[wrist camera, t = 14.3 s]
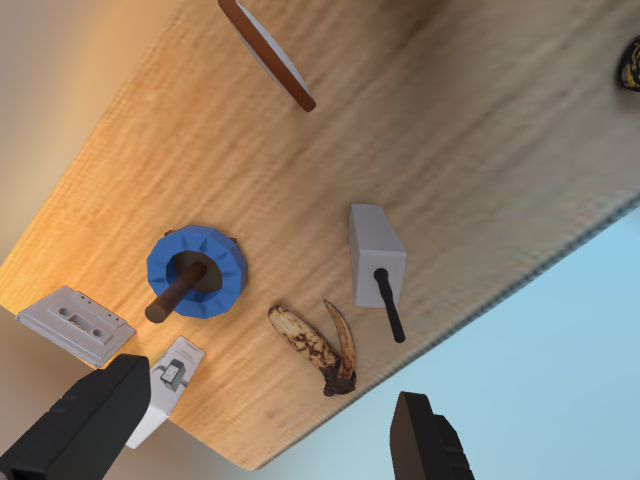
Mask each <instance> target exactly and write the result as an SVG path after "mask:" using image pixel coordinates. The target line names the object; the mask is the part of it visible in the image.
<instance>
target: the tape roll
mask: <svg viewBox="0 0 640 480" xmlns="http://www.w3.org/2000/svg"><path fill="white" fill-rule="evenodd" d="M185 250H190V251H197V252H202V253H204V254H205V255H207V256H208V257H210V258H211V259H212V260H214V261H215V262H216V264H217V265H218V267H219V269H220V271H221V273H222V275H223V276H222V288H221V289H219V290H217V291H214V292H211V293H202V292H195V291H193V290H191V291H190V292H189V293H188V295H187V296H186V297H185V298H184V299H183V300H182V301H181V302H180V304H179V305H178V306H177V307H176V308H175V309H174V311H176V312H177V313H179V314H180V315H183V316H190V317H196V318H203V319H207V318H210V317H213V316H216V315H219V314H222V313H225V312H227V311H228V310H229V309H230V307H231V306H232V305H233V303H234V302H235V301H236V300H237V298H238V297H239V296H240V294H241V293H242V291H243V289H244V287H245V283H246V268H247V264H246V262H245V260H244V258H243V257H242V255H241V253H240V251H239V249H238V247H237V245H236V243H234V242H233V241H232V240H230V239H229V238H227V237H226V236H225V235H223V234H222V233H220V232H219V231H218V230H216V229H214V228H207V227H200V226H193V225H189V226H187V227H184V228H182V229H179V230H177V231H174V232H172V233H169V234H168V235H166V236H165V237H163V238H161V239H160V240H159V241H158V242H157V244H156V246H155V247H154V249H153V250H152V252H151V253H150V255H149V257H148V258H147V270H148V282H149V284H150V285H151V287H152V289H153V290H154V292H155V293H156V295H157V296H159V295H160V294H161V293H162V292H163V291H164V290H165V289H167V288H168V287H169V286H170V285H171V284H172V283H173V282H174V281H175V280H176V279H177V278H178V277H179V276H178V275H177V273H176V265H175V258H176V257H177V255H178V254H179V253H180V252H183V251H185Z"/></svg>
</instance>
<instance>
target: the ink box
mask: <svg viewBox="0 0 640 480" xmlns="http://www.w3.org/2000/svg"><path fill="white" fill-rule="evenodd" d="M204 355H205V352H204V351H202V350H200V349H199V348H198V347H196V346H195V345H194V344H192V343H191V342H190V341H188V340H187V339H185V338H184V337H183V336H180V337H179V338H178V339H177V340H176V341H175V342H174V343H173V344H172V345H171V346H170V347H169V348H168V350H167V351H166V352H165V353H164V354H163V355H162V356H161V357H160V358H159V360H158V361H157V362H156V363H155V364H154V365H153V366H152V368H151V369H150V381H151V401H150V404H149V407H148V410H147V412H146V414H145V415H144V417H143V419H142V420H141V422H140V423H139V425H138V426H137V428H136V429H135V431H134V432H133V434H132V435H131V437H130V438H129V440H128V441H127V443H126V444H125V445H127V446H128V447H130V448H132V449H135V448H136V447H137V446H138V445H139V444H140V443H142V442H143V441H144V440H145V439H146V438H147V437H148V436H149V435H150V434H151V433H152V432H153V431H154V430H155V429H156V428H157V427H158V426H159V425H160V424H161V423H163V422H164V421H165V419H167V418H168V417H169V416H170V414H171V412H172V411H173V409H174V407H175V406H176V404H177V402H178V400H179V399H180V397H181V395H182V393H183V392H184V390H185V388H186V386H187V385H188V383H189V381H190V380H191V378H192V376H193V374H194V373H195V371H196V369H197V367H198V365H199V364H200V362H201V360H202V358H203V357H204Z"/></svg>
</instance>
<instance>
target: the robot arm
mask: <svg viewBox="0 0 640 480" xmlns="http://www.w3.org/2000/svg"><path fill="white" fill-rule="evenodd" d="M150 401H151V381H150V368H149V360H148V358H147V357H145V356H138V355H130V354H120V355H118V356H117V357H116V358H115V359H114V360H113V361H112V362H111V363H110V364H109V365H108V366H107V367H106V368H105V369H97V370H95V371H93V372H92V373H90V374H88V375H87V376H85V377H83V378H82V379H80V380H78V381H77V383H75V384H74V385H73V386H72V387H71V388H70V389H69V390H68V391H67V392H66V393H65V394H64V395H63V397H62V399H59V400H58V401H57V402H56V403H55V404H54V405H53V406H52V407H51V408H50V410H49V412H46V413H45V414H44V415H43V416H42V417H41V418H40V419H39V420H38V421H37V422H36V423H35V424H34V425H33V426H32V427H31V428H30V429H29V430H28V431H27V432H25V433H24V435H22V436H21V437H20V438H19V439H18V440H17V441H16V442H15V443H14V445H12V446H11V447H10V448H9V449H8V450H7V451H6V452H5V453H4V454H3V455H2V456H1V457H0V480H102V479H103V477H104V476H105V474H106V473H107V471H108V470H109V468H110V466H111V465H112V464H113V462H114V461H115V459H116V458H117V456H118V455H119V453H120V452H121V450H122V449H123V447H124V446H125V444H126V443H127V441H128V440H129V438H130V437H131V435H132V434H133V432H134V431H135V429H136V428H137V426H138V425H139V423H140V422H141V420H142V419H143V417H144V415H145V414H146V412H147V410H148V407H149V404H150ZM390 450H391V456H392V461H393V468H394V474H395V480H475V479H474V476H473V473H472V471H471V470H470V468H469V463H468V461H467V458H466V455H465V454H464V453H463V448H462V445H461V443H460V440H459V438H458V435H457V432H456V431H455V430H454V428H453V427H452V426H451V425H450V423H449V422H448V421H447V420H446V419H445V417H444V416H443V415H436V414H433V412H432V409H431V406H430V403H429V400H428V398H427V396H426V395H425V394H418V393H411V392H403V391H401V392H400V394H399V397H398V401H397V405H396V408H395V412H394V416H393V420H392V424H391V428H390Z"/></svg>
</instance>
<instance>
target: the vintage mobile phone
mask: <svg viewBox="0 0 640 480" xmlns="http://www.w3.org/2000/svg"><path fill="white" fill-rule="evenodd" d="M348 243H349V244H350V254H351V263H352V285H353V299H354V305H355V306H357V307H371V308H385V309H386V310H387V314H388V317H389V321H390V325H391V328H392V332H393V336H394V339H395V341H396V342H397V343H402V342H404V341H405V335H404V332H403V329H402V326H401V323H400V320H399V316H398V313H397V310H396V309H398V307H399V301H400V294H401V288H402V281H403V275H404V269H405V262H406V256H407V252H406V250H405V248H404V247H403V245H402V243H401V241H400V239H399V238H398V236H397V234H396V232H395V230H394V229H393V227H392V225H391V223H390V222H389V220H388V218H387V216H386V214H385V213H384V211H383V209H382V207H381V205H371V204H355V203H351V207H350V219H349V230H348Z"/></svg>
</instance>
